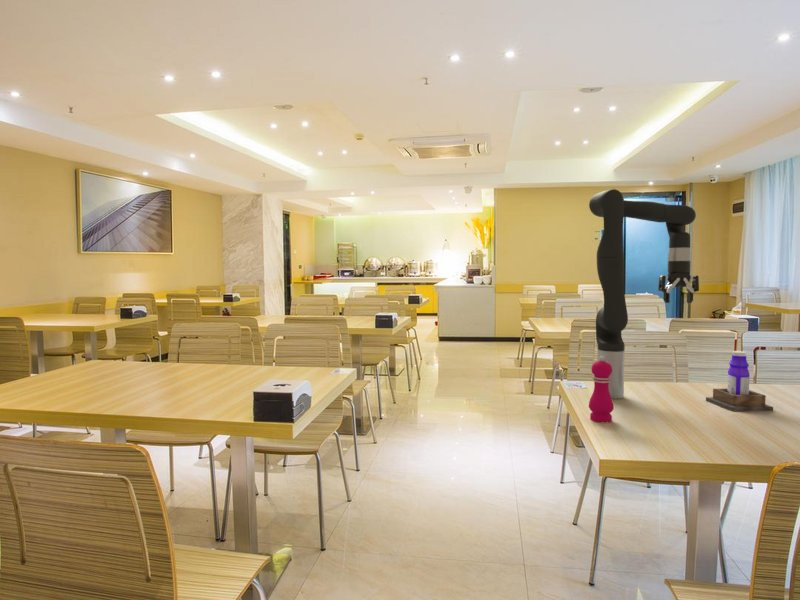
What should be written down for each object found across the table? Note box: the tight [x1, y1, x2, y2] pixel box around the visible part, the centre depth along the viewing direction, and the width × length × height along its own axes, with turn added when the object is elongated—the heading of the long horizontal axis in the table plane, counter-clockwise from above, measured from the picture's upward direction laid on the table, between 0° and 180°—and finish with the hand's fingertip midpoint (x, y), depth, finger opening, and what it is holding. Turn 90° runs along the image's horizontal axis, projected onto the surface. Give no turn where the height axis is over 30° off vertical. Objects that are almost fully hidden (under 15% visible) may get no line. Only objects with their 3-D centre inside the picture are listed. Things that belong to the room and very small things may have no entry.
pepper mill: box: [588, 356, 615, 424], centre depth 163 cm, size 7×7×20 cm
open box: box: [705, 387, 774, 412], centre depth 181 cm, size 14×14×5 cm
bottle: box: [727, 350, 751, 395], centre depth 180 cm, size 7×6×17 cm
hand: (678, 302), depth 200 cm, fingers open, 8 cm apart
